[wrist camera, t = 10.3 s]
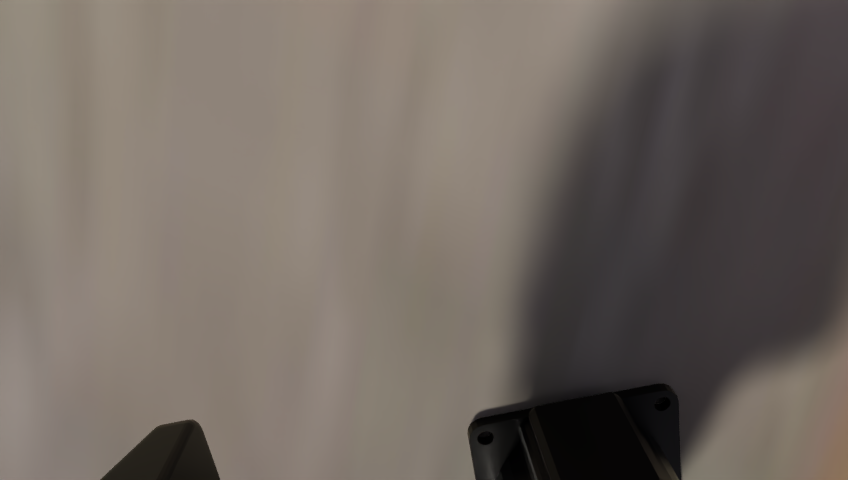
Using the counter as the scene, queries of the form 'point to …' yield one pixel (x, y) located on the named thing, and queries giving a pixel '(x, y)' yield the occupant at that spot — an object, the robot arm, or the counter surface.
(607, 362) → the counter surface
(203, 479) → the robot arm
